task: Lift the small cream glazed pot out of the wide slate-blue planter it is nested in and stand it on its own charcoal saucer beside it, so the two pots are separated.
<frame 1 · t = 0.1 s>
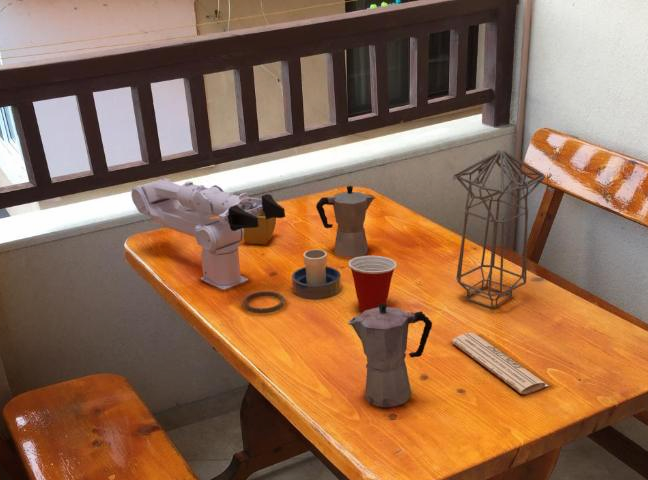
hand: (270, 217, 190), 22 cm above the table, tool horizontal, fingers open, 7 cm apart
geometric lantern: (489, 299, 203), on the table
newspaper: (498, 365, 177), on the table
planter: (316, 290, 208), on the table
flower pot: (259, 242, 235), on the table
moka pot: (389, 396, 168), on the table
clay pot: (316, 288, 208), resting on planter
plastic cup: (372, 310, 199), on the table
coffeepot: (347, 253, 227), on the table
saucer: (264, 305, 202), on the table
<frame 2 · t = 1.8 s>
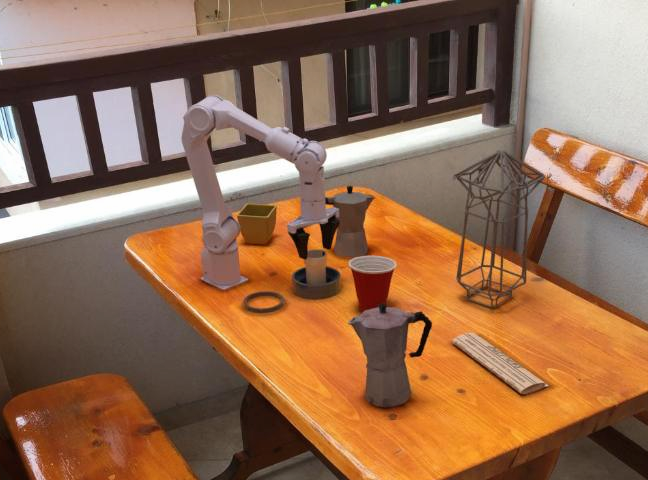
hand: (315, 253, 203), 10 cm above the table, tool pointing down, fingers open, 7 cm apart
nothing on the table moved.
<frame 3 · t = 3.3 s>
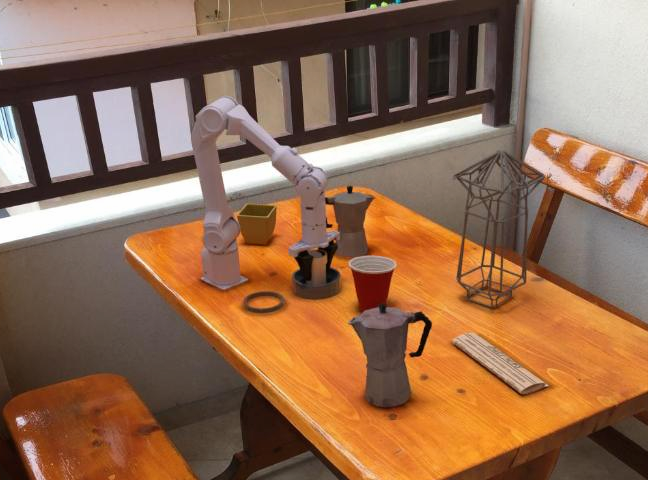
hand: (316, 275, 206), 4 cm above the table, tool pointing down, fingers closed on clay pot, 5 cm apart
clay pot: (316, 288, 208), point 1 cm above the table, touching gripper, planter
everything else where it was.
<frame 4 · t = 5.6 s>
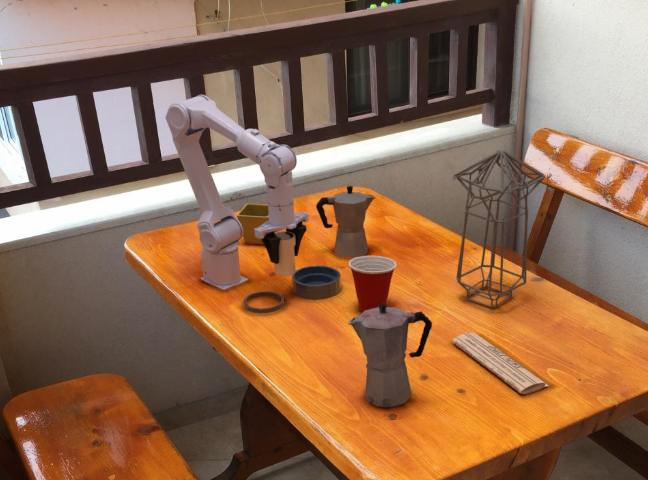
hand: (284, 258, 199), 10 cm above the table, tool pointing down, fingers closed on clay pot, 5 cm apart
clay pot: (285, 272, 201), point 7 cm above the table, touching gripper
everything else where it was.
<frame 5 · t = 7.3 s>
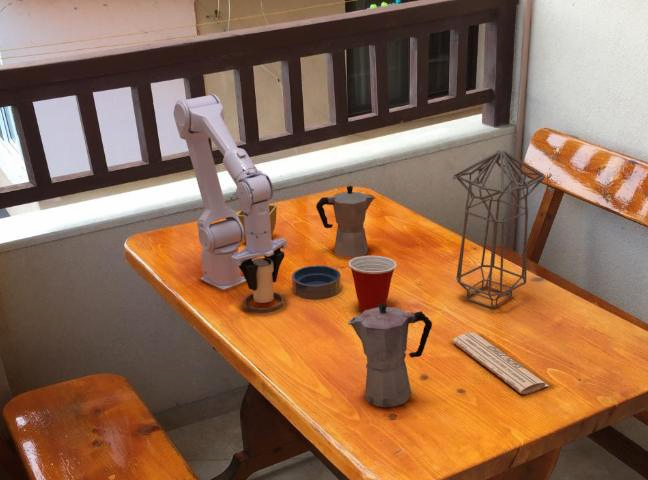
hand: (262, 285, 199), 5 cm above the table, tool pointing down, fingers closed on clay pot, 5 cm apart
clay pot: (263, 298, 201), point 2 cm above the table, touching gripper
everything else where it was.
when the fingers open (4 cm above the table, at t = 8.3 s): clay pot stays where it is, resting on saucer.
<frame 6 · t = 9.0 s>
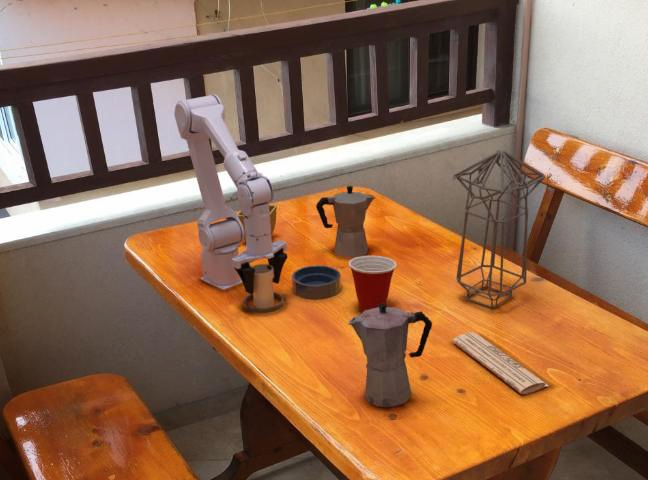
hand: (262, 287, 199), 5 cm above the table, tool pointing down, fingers open, 7 cm apart
clay pot: (264, 304, 201), resting on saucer
everything else where it was.
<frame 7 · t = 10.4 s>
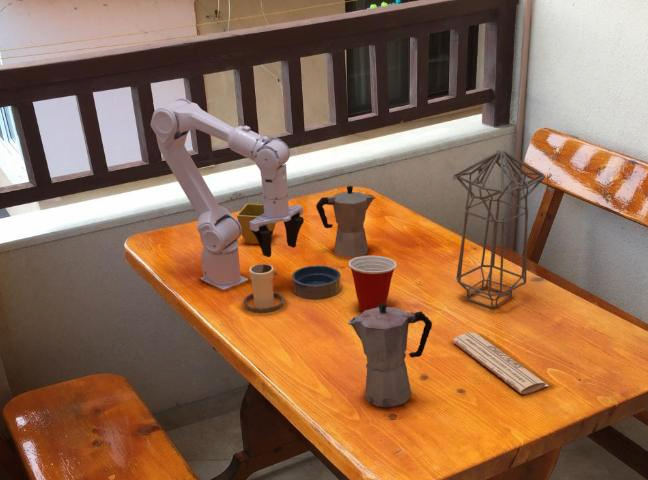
hand: (279, 251, 203), 10 cm above the table, tool pointing down, fingers open, 7 cm apart
nothing on the table moved.
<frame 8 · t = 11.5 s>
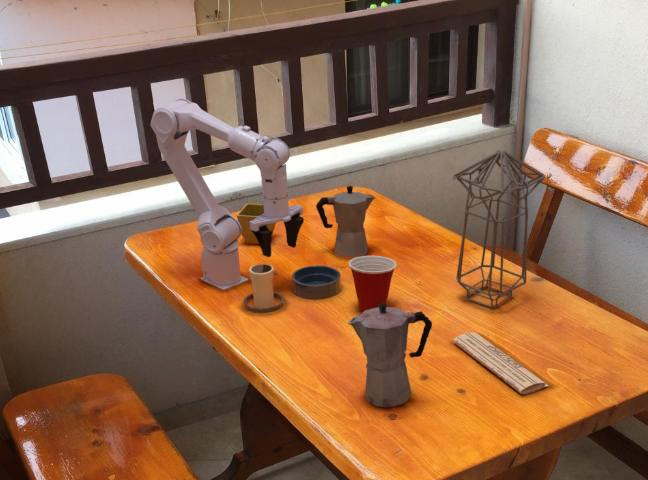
hand: (279, 251, 203), 10 cm above the table, tool pointing down, fingers open, 7 cm apart
nothing on the table moved.
at the end: clay pot 0.1 cm off-centre in the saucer, point 0.4 cm above the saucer's base; clay pot tilted 0°; clay pot touching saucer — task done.
